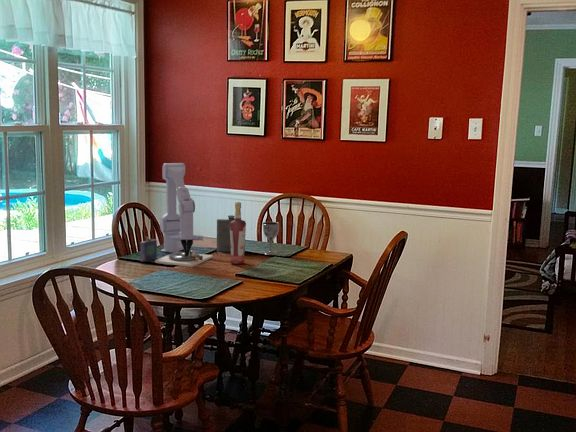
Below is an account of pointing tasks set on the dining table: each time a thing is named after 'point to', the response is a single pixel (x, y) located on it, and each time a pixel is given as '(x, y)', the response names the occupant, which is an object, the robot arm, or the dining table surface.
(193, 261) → the base board
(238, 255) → the liquor
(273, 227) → the wine glass
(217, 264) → the dining table surface
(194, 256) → the flange plate
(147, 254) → the blue grey box
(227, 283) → the dining table surface
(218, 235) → the flask
